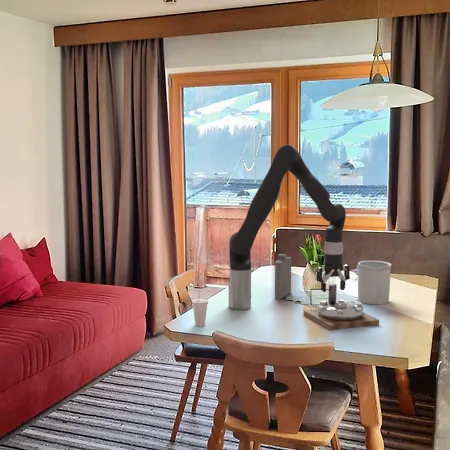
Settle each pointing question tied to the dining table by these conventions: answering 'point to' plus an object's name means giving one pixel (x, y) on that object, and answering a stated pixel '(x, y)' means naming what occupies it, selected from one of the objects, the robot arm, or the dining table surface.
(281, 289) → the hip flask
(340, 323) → the brown wooden board
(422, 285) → the dining table surface
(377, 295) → the utensil holder
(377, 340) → the dining table surface
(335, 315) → the silver round piece
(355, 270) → the blue toy figure
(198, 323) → the smoothie
